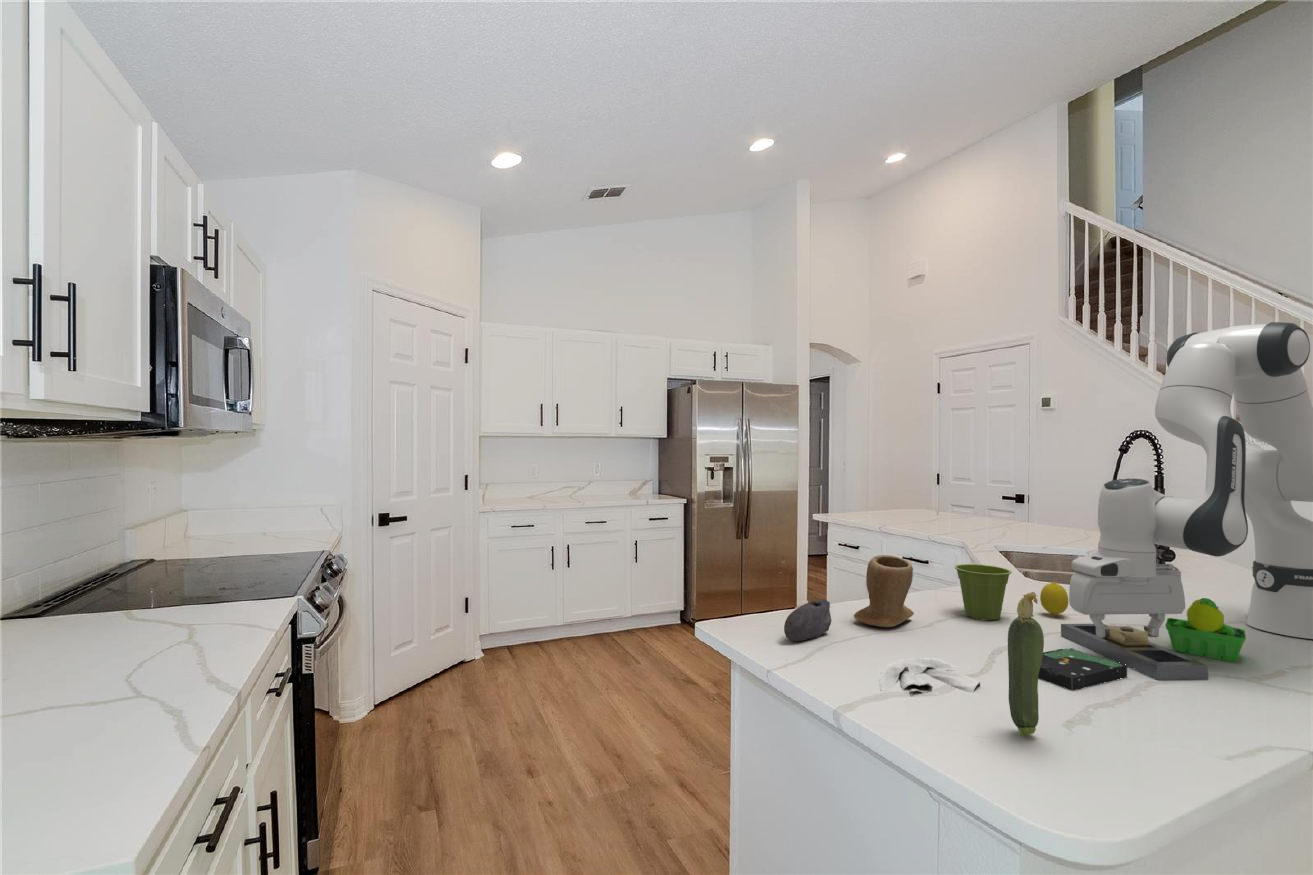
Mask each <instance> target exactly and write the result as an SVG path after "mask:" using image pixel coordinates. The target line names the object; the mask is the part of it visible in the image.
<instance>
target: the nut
mask: <svg viewBox="0 0 1313 875" xmlns="http://www.w3.org/2000/svg"><path fill="white" fill-rule="evenodd" d="M1106 628H1109V629H1110V633H1109V634H1110V637H1107V641H1110V642H1112V643H1114V644H1117V645H1119V646H1121V647H1124V648H1142V647H1148V641H1149V636H1148V633H1146V632H1144V631H1145V630H1141V629H1138V628H1135V627H1133V626H1130V625H1111V626H1110V625H1108V626H1106Z"/></svg>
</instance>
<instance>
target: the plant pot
mask: <svg viewBox="0 0 1313 875" xmlns="http://www.w3.org/2000/svg"><path fill="white" fill-rule="evenodd" d="M954 569H955V570H956V572H957V573H956V574H957V577H958V580H959V585H960V591H961V595H962V596H961V597H962V602H963V608H964V614H965V615H966V616H967V617H972V618H973V619H975V620H979V621H981V620H984V621H993V620H1000V618H1001V615H1002V611H1003V605H1004V604H1003V603H1004V598H1005V593H1006V587H1007V584H1008V581H1009V577H1010V575H1011V574H1012V573H1013V572H1012V570H1011V569H1007V568H1004V567H1000V566H995V565H994V566H993V565H987V564H976V563H974V564H973V563H970V564H969V563H963V564H962V563H961V564H956V565H954Z"/></svg>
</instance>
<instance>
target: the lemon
mask: <svg viewBox="0 0 1313 875" xmlns="http://www.w3.org/2000/svg"><path fill="white" fill-rule="evenodd" d="M1039 598H1040V605H1041V607H1042V608H1043V609H1044V611H1046V612H1048V613H1049V614H1051V616H1053V617H1057V616H1058V615H1060V614H1062V613H1064V612H1065V611H1066V610H1067V609H1068V606H1069V594H1068V593H1067V590H1066V589H1065V588H1064V587H1063V586H1062V585H1061V584H1059V583H1057V582H1056V581H1052V582H1051V583H1047V584H1045V585H1044V586H1043V587H1042V589H1041V592H1040V596H1039Z"/></svg>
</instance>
